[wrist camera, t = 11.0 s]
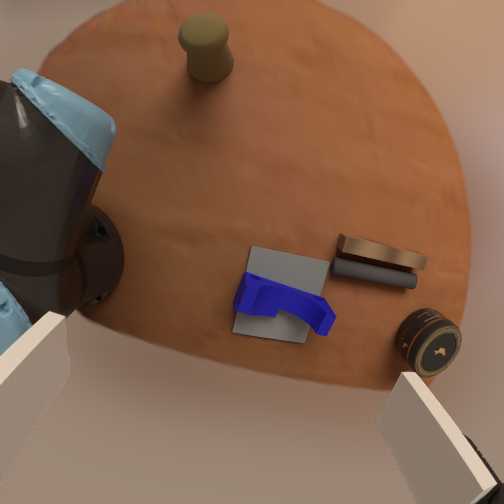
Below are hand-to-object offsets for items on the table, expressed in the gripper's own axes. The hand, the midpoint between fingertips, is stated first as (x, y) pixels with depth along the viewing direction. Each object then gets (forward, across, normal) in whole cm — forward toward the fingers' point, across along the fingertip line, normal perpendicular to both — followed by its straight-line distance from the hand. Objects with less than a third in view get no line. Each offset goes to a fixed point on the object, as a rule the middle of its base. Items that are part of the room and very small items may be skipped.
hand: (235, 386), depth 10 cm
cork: (+31, -8, +21) cm, 38 cm away
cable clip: (+30, +8, -9) cm, 33 cm away
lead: (+31, +21, -2) cm, 37 cm away
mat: (+31, +8, -8) cm, 33 cm away
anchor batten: (+31, +21, +1) cm, 37 cm away
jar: (+31, +34, -11) cm, 47 cm away
